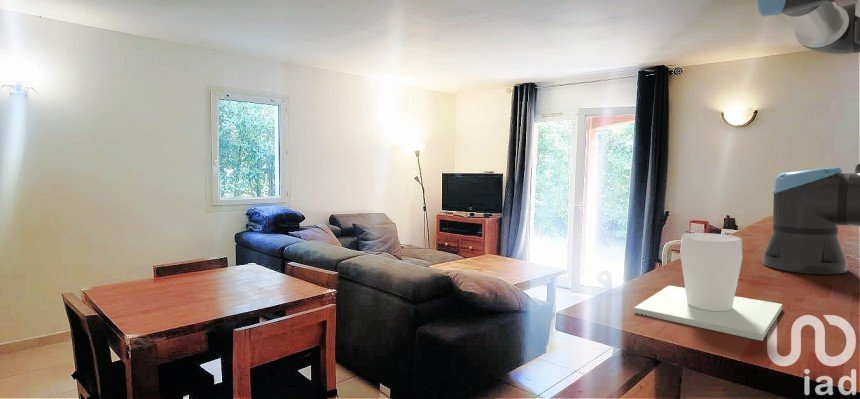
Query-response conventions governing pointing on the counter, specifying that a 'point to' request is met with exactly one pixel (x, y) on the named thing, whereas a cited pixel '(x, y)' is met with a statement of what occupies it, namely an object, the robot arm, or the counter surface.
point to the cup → (711, 269)
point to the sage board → (713, 313)
